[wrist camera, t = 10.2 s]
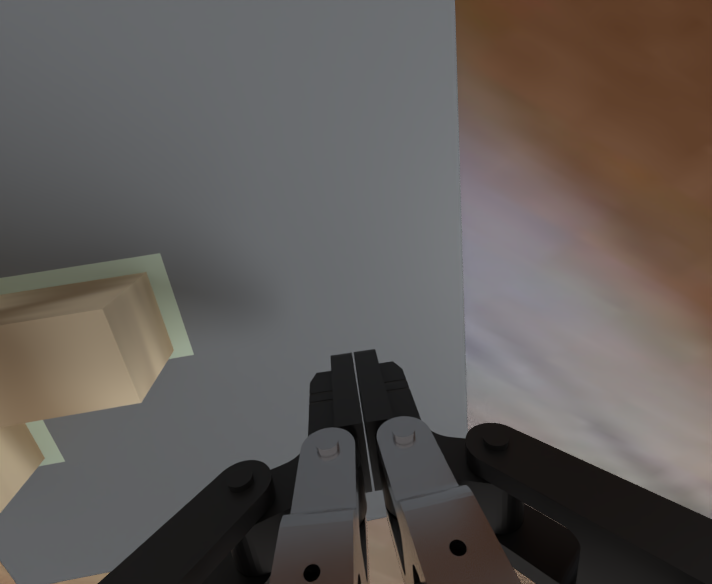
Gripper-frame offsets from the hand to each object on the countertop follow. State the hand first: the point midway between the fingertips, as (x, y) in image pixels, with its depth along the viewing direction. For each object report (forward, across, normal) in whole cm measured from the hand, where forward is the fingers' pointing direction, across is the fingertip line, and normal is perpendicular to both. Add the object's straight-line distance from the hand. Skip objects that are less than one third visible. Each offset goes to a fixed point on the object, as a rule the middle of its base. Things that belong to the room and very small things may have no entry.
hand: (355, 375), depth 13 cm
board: (+5, +7, -2) cm, 9 cm away
